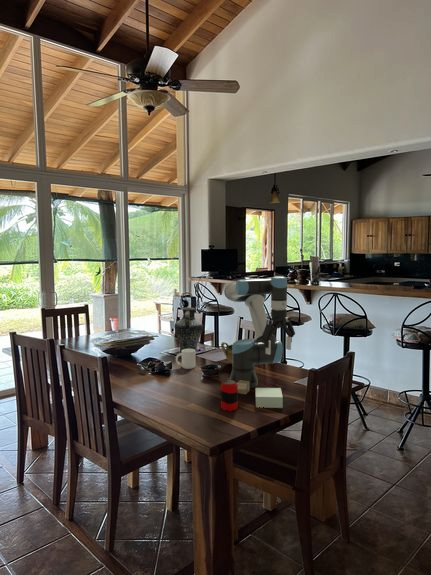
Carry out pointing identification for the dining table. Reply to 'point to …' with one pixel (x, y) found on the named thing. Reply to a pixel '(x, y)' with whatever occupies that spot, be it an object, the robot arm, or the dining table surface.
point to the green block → (269, 398)
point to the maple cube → (243, 387)
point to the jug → (188, 329)
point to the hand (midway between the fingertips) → (278, 351)
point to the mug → (187, 358)
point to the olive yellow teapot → (228, 351)
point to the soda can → (229, 395)
